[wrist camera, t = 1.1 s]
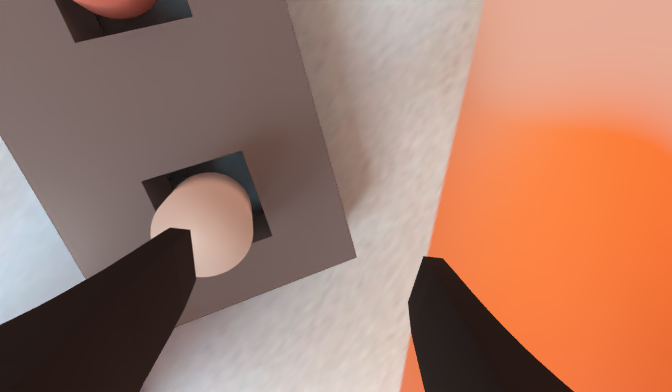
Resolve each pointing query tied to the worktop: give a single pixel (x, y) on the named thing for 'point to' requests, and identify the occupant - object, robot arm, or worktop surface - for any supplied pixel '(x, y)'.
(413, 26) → the worktop surface
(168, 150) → the block
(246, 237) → the beige button
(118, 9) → the red button
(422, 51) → the worktop surface
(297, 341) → the worktop surface
